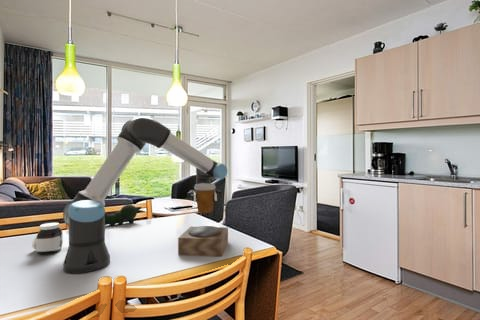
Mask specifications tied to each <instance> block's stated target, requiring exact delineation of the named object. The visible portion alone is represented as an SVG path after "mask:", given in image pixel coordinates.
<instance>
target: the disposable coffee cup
mask: <svg viewBox="0 0 480 320" xmlns="http://www.w3.org/2000/svg"><path fill="white" fill-rule="evenodd" d="M193 188H194V192H195V193H196V206H197V212H198V213H199V214H207V213H212V212H213V208H214V201H215V199H214V192H215V190H216V189H217V187H216V185H215V183H211V182H210V183H201V184H194V187H193Z"/></svg>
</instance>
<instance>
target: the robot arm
mask: <svg viewBox="0 0 480 320" xmlns="http://www.w3.org/2000/svg"><path fill="white" fill-rule="evenodd" d="M116 139H117V143H116V145H115V147H113V149H112V151H111V152H110V153H109V155H108V156H107V157H106V159H105V160H104V162H103V163H102V165H101V166H100V167H99V169H98V170H97V171H96V173H95V174H94V177H92V179H91V180H90V182H89V183H88V184H87V186H86V188H85V189H84V190H81V191H78V192H77V193H76V195H75V197H74V198H73V199H72V200H71V201H70V202H68V203H67V204H66V205H65V207H64V209H63V212H62V217H63V221H64V223H65V224H66V225H67V227H68V249H67V250H66V251H67V252H66V254H65V257H64V261H63V265H62V267H63V268H62V269H63V272H65V273H66V274H67V273H68V274H85V273H90V272H95V271H98V270H100V269H103V268H105V267H107V266H108V265H109V264H110V262H111V256H110V253H109V250H108V247H107V244H106V238H105V236H106V231H105V229H106V228H105V226H106V225H105V212H106V208H105V206H106V203H105V201H106V199H105V198H106V196H107V195H108V196H109V194H110V192H111V191H112V189H113V187H114V186H115V184H116V183H117V181H118V180H119V178H120V177H121V175H122V174H123V172H124V171H125V170H126V168H127V166H129V163H130V162H131V161H132V159H133V157H134V156H135V154H137V153H141V151H142V150H143V149H144V147H145V145H146V144H149V145H152V146H154V147H156V148H157V149H164V150H166V151H167V152H169V153H170V154H172V155H174V156H175V157H178V158H179V159H181V160H182V161H184V162H186V163H187V164H189V165H190V166H193V167H194V168H195V173H196V178H195V179H196V181H195V183H196V184H201V183H211V179H216V180H222V179H224V178H226V176H227V175H228V166H226V165H225V164H224V163H219V162H216V161H215V160H213V159H211V158H210V157H209V156H207V155H205V154H204V153H203V152H201V151H200V150H198V149H196V148H195V147H193V146H192V145H190V144H189V143H188V142H186V141H184V140H182V139H181V138H180V137H178V136H176V135H175V134H173V133H172V131H171V129H170V128H168V127H166V126H165V125H163V124H162V123H160V122H159V121H158V120H156V119H154V118H152V117H149V116H138V117H135V118H131V119H129V120H127V121H126V122H125V123H124V124H123V125H122V126H121V131H120V133H119V134H118V136H116ZM186 197H187V198H186V199H188V200H190V199H191V200H190V201H193V202H194V203H195V202H197V200H196V193H195V189H190V190H189V191H188V192H187V195H186ZM219 198H220V199H221V198H223V192H222V191H220V190H219V189H217V188H215V192H214V201H215V202H217V201H218V199H219Z"/></svg>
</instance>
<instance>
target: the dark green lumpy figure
mask: <svg viewBox="0 0 480 320" xmlns="http://www.w3.org/2000/svg"><path fill="white" fill-rule="evenodd" d="M107 199H109V200H112V197H111V196H110V195H109V194H108V195H107V196H106V198H105V200H107ZM142 208H143V207H142V206H134V205H133V204H125V205H124V206H122V207H121V209H120V210H118V211H116V212H114V213H111V214H108V213H107V212H106V211H105V226H107V224H109V225H111V226H112V227H114V226H116V224H117V223H119V225H123V224H124V221H126V222H127V221H128V223H129V224H132V223H134V222H135V218H136V216H137V214H138V211H140V210H141V209H142Z"/></svg>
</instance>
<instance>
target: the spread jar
mask: <svg viewBox="0 0 480 320" xmlns="http://www.w3.org/2000/svg"><path fill="white" fill-rule="evenodd" d="M63 237H64V235H63V230H62V228H61V227H60V223H59V222H45V223H42V224H40V225H39V231H38V233H37V234H36V237H35V238H34V239H33V241H32V244H31V247H32V249H34V250H36V252H37V254H39V255H41V256H44V255H46V256H47V255H53V254H56V253H58V252H60V251H61V250H62V247H63V242H64V241H63V239H64V238H63Z"/></svg>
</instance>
